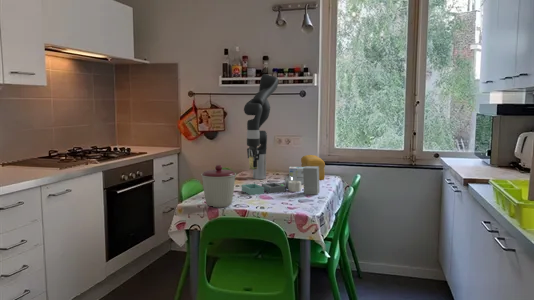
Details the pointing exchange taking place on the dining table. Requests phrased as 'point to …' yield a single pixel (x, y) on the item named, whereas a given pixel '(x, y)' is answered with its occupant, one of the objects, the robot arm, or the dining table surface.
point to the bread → (314, 164)
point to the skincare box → (311, 180)
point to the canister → (218, 186)
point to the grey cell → (287, 181)
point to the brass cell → (251, 163)
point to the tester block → (273, 187)
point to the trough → (252, 189)
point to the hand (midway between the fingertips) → (253, 166)
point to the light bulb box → (296, 174)
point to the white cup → (294, 186)
